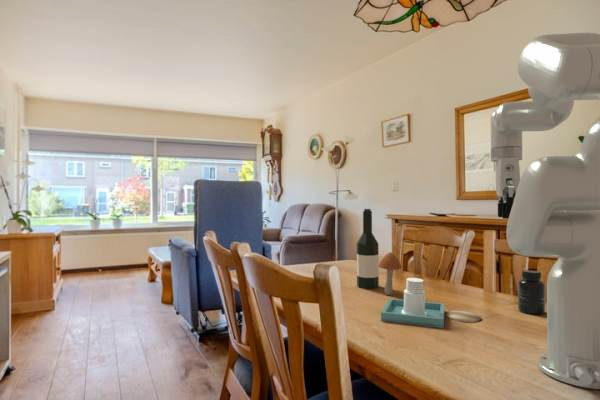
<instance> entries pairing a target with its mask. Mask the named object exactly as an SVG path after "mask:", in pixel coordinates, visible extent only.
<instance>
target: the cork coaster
mask: <svg viewBox="0 0 600 400" xmlns="http://www.w3.org/2000/svg"><path fill="white" fill-rule="evenodd" d="M445 317H447V318H448V319H450V320H451V321H452V320H453V321H457V322H464V323H477V322H480V321H481V320H482V318H481V316H480V315H479V314H477V313H474V312H471V311H464V310H449V311H447V312H446V313H445Z"/></svg>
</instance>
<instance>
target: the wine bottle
mask: <svg viewBox="0 0 600 400" xmlns="http://www.w3.org/2000/svg"><path fill="white" fill-rule="evenodd" d="M379 268H380V267H379V242H378V240H377V239H376V237H375V236H374V234H373V211H372V209H371V208H364V209H363V211H362V233H361V235H360V236H359V239H358V240H357V242H356V287H358V288H359V289H363V290H364V289H365V290H372V289H373V290H374V289H378V288H379V287H380V286H379V285H380V284H379V280H380V279H379V275H380V274H379Z"/></svg>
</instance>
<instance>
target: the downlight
mask: <svg viewBox="0 0 600 400" xmlns="http://www.w3.org/2000/svg"><path fill="white" fill-rule="evenodd" d="M405 286H406V288H405V289H404V290H403V300H404V309H403V310H402V311H401V313H402V314H410V315H419V316H427V313H426V312H425V302H426V291H424V279H422V278H418V277H407V278H406V285H405Z"/></svg>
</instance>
